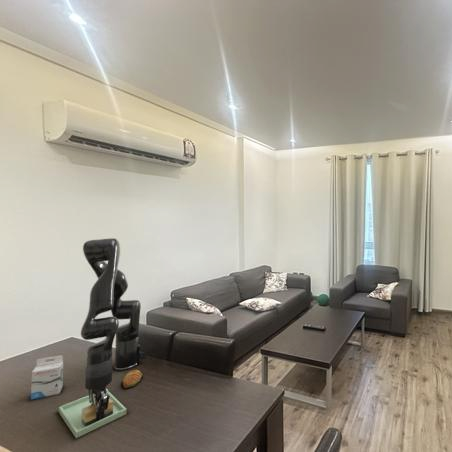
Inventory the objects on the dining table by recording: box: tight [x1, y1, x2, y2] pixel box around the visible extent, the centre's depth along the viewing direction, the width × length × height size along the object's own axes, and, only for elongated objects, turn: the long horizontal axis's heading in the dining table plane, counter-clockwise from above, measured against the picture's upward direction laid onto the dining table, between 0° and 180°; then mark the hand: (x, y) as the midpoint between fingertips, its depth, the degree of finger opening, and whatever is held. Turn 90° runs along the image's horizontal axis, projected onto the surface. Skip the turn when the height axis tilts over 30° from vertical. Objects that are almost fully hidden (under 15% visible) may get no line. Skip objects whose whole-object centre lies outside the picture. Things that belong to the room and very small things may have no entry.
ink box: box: [30, 354, 64, 401], centre depth 113 cm, size 8×5×15 cm, turn 123°
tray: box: [58, 389, 127, 439], centre depth 103 cm, size 14×21×2 cm
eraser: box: [82, 398, 113, 427], centre depth 100 cm, size 8×4×5 cm, turn 147°
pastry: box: [122, 369, 143, 389], centre depth 122 cm, size 9×7×4 cm
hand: (97, 417), depth 100 cm, fingers closed on eraser, 4 cm apart
